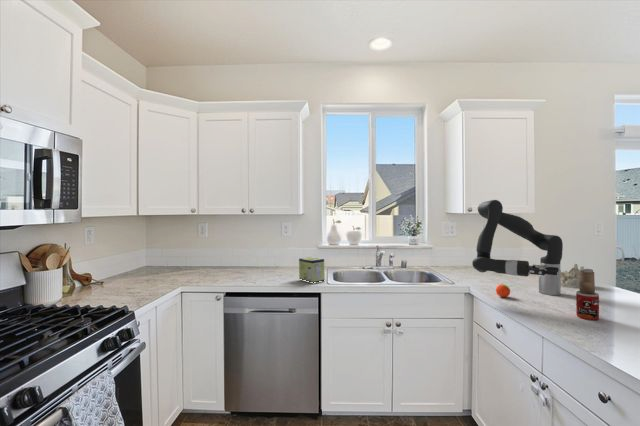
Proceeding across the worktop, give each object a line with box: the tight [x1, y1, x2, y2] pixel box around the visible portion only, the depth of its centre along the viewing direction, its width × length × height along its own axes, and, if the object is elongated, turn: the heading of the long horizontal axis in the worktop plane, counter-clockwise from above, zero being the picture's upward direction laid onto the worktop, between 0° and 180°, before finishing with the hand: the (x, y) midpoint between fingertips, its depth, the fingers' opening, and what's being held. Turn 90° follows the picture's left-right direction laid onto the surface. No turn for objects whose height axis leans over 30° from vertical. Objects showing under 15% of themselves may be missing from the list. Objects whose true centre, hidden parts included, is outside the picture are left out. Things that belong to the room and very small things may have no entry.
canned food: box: [575, 290, 600, 321], centre depth 140 cm, size 8×8×11 cm
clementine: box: [495, 283, 511, 298], centre depth 173 cm, size 8×7×7 cm
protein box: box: [298, 256, 326, 283], centre depth 219 cm, size 10×16×16 cm
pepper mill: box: [578, 268, 596, 294], centre depth 140 cm, size 5×5×10 cm
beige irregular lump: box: [560, 263, 585, 289], centre depth 199 cm, size 16×16×15 cm
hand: (557, 271), depth 147 cm, fingers open, 8 cm apart
